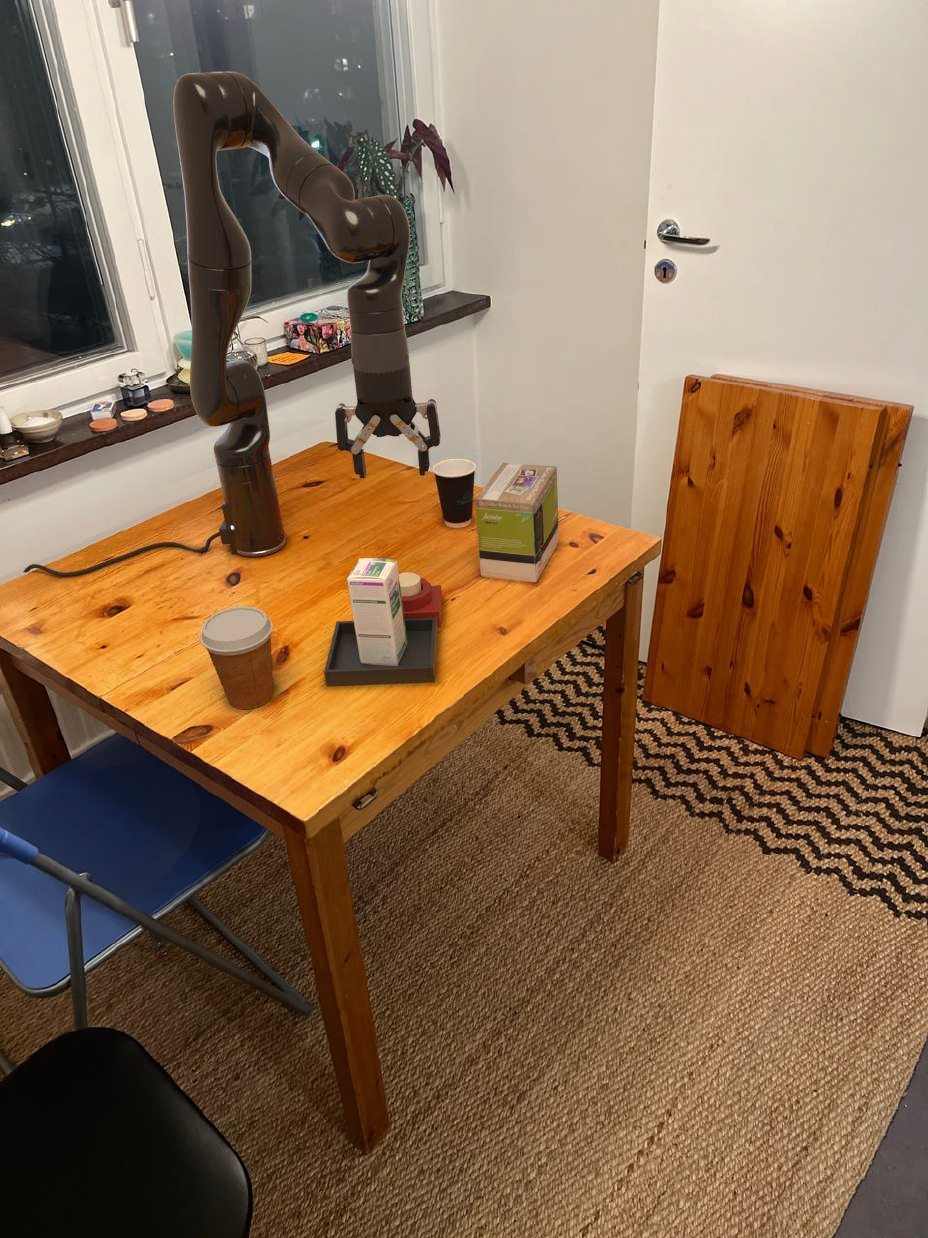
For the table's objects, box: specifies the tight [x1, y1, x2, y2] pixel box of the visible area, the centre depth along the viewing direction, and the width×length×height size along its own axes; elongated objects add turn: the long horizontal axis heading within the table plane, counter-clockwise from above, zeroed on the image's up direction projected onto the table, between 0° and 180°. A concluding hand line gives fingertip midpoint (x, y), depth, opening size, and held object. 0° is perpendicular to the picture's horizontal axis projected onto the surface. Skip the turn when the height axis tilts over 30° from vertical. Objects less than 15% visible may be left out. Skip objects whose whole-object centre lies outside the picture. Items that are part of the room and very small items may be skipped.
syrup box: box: [346, 557, 408, 666], centre depth 129 cm, size 6×6×14 cm
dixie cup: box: [432, 458, 477, 529], centre depth 167 cm, size 8×8×11 cm
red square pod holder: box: [402, 577, 443, 629], centre depth 142 cm, size 10×8×5 cm
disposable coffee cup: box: [199, 606, 275, 710], centre depth 124 cm, size 10×10×12 cm
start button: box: [399, 572, 421, 597], centre depth 140 cm, size 4×4×2 cm
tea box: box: [475, 462, 560, 584], centre depth 152 cm, size 15×10×15 cm, turn 160°
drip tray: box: [323, 617, 439, 688], centre depth 133 cm, size 15×13×3 cm
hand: (392, 474), depth 130 cm, fingers open, 8 cm apart
